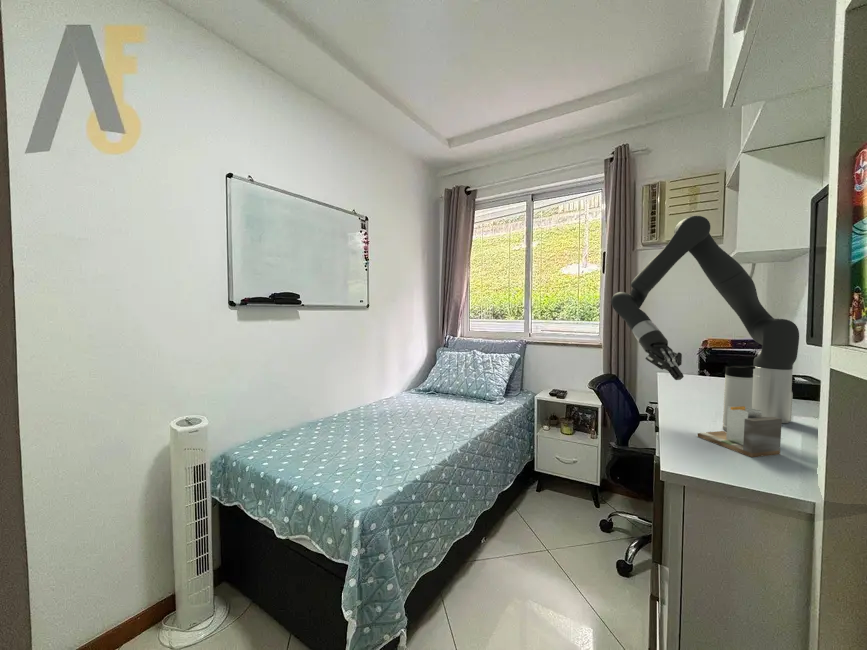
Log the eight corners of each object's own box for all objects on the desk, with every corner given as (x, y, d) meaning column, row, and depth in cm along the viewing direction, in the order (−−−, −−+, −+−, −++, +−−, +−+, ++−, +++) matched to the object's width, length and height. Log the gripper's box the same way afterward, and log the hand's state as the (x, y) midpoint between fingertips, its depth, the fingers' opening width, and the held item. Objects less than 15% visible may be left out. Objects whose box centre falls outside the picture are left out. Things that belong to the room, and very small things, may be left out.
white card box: (720, 440, 93) (721, 404, 93) (739, 438, 95) (741, 403, 94) (740, 447, 88) (742, 410, 88) (760, 445, 90) (761, 408, 89)
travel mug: (745, 437, 99) (749, 367, 98) (718, 429, 105) (721, 363, 104) (756, 433, 102) (759, 365, 101) (728, 426, 108) (731, 362, 107)
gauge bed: (697, 436, 99) (698, 405, 99) (722, 434, 101) (724, 403, 101) (751, 457, 86) (753, 421, 85) (779, 454, 88) (781, 418, 87)
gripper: (639, 329, 117) (670, 372, 105) (672, 329, 120) (705, 371, 108) (626, 343, 122) (655, 386, 111) (658, 343, 125) (689, 384, 114)
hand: (679, 378), depth 110 cm, fingers closed
